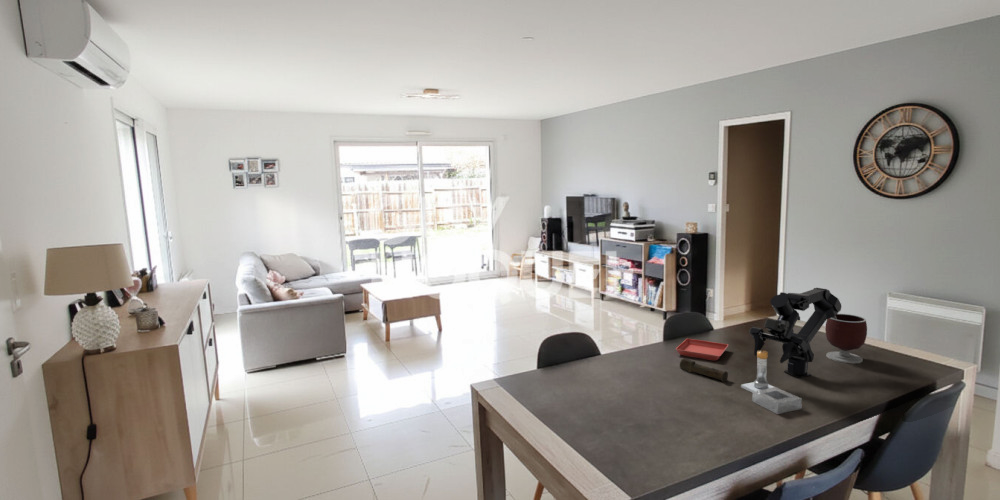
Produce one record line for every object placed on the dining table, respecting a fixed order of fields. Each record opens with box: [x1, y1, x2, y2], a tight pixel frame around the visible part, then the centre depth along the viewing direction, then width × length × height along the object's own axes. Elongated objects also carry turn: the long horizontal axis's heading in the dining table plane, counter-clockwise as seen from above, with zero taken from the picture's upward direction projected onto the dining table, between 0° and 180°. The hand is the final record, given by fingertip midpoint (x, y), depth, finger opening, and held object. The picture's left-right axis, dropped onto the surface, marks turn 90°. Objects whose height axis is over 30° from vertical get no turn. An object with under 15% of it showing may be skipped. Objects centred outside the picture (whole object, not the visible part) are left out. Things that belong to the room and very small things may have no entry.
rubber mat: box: [740, 381, 775, 394], centre depth 174 cm, size 9×9×1 cm
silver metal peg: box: [753, 349, 769, 390], centre depth 174 cm, size 4×4×13 cm
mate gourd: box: [825, 313, 868, 364], centre depth 202 cm, size 16×14×20 cm
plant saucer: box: [675, 338, 729, 362], centre depth 214 cm, size 18×18×3 cm
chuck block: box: [751, 386, 803, 415], centre depth 162 cm, size 10×10×4 cm
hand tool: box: [679, 358, 729, 383], centre depth 190 cm, size 19×4×5 cm, turn 36°
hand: (767, 358), depth 175 cm, fingers open, 9 cm apart
